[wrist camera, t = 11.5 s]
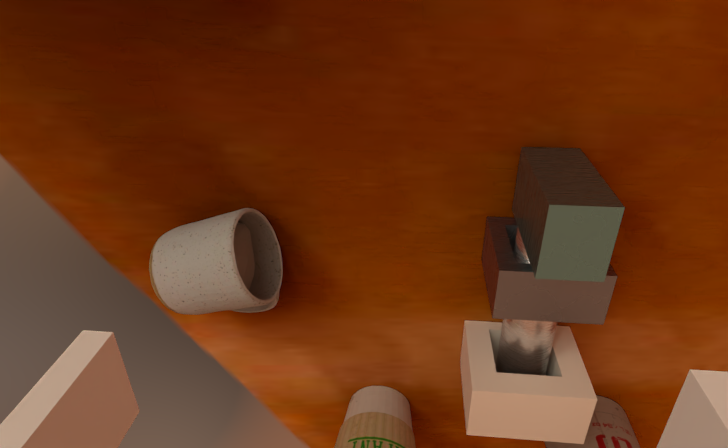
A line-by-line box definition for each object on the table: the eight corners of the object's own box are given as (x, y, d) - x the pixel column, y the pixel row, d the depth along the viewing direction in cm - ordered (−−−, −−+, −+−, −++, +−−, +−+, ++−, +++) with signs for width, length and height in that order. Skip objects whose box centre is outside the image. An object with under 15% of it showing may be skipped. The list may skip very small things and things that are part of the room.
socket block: (464, 320, 44) (472, 390, 37) (569, 326, 43) (597, 399, 36) (460, 361, 47) (466, 434, 40) (559, 368, 46) (583, 444, 39)
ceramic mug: (169, 215, 42) (123, 268, 35) (255, 190, 40) (222, 241, 33) (227, 309, 47) (195, 371, 40) (306, 291, 45) (286, 353, 38)
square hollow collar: (486, 216, 39) (499, 270, 33) (584, 220, 38) (617, 276, 32) (481, 259, 41) (492, 318, 35) (574, 263, 40) (603, 324, 34)
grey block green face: (521, 147, 35) (549, 204, 28) (579, 148, 35) (624, 207, 27) (490, 351, 45) (504, 437, 37) (535, 354, 45) (559, 442, 37)
